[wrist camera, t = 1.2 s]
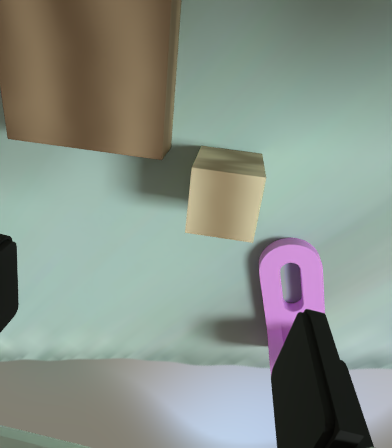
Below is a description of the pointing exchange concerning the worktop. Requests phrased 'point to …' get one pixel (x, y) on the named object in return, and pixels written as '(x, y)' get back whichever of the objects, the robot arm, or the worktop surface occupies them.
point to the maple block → (225, 193)
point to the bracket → (272, 290)
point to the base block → (90, 73)
